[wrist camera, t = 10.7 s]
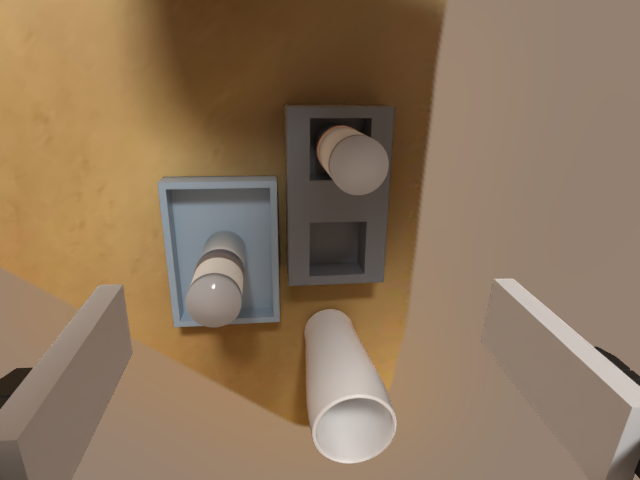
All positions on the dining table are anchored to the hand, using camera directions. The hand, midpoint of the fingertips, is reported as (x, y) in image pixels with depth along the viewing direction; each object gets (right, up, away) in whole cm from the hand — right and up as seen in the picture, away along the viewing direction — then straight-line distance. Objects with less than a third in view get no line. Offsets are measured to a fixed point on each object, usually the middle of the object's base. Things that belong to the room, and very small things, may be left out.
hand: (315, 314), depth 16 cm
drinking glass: (+1, -7, +32) cm, 33 cm away
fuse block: (+1, +7, +27) cm, 28 cm away
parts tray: (-9, +2, +27) cm, 29 cm away
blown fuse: (-9, +2, +27) cm, 28 cm away
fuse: (+2, +11, +24) cm, 27 cm away
